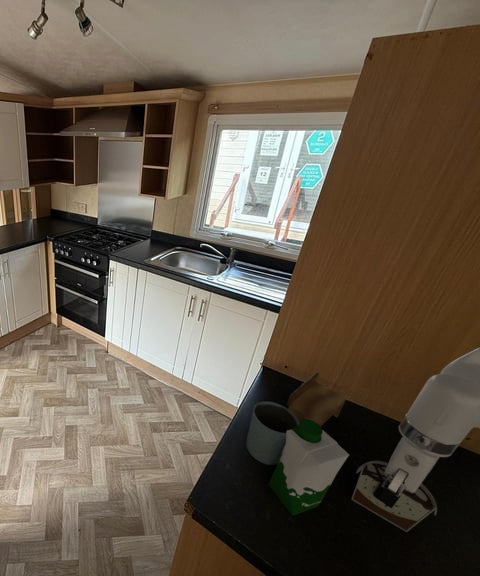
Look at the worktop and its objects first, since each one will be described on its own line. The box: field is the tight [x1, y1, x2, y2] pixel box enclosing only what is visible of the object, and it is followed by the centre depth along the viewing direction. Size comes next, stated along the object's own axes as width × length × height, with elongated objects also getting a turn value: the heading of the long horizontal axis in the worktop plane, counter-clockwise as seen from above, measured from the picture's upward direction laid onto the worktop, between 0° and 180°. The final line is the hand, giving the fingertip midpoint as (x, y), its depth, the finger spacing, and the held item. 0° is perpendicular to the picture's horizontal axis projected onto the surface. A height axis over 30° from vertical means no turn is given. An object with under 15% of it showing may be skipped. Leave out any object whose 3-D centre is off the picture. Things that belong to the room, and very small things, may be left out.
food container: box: [350, 460, 438, 533], centre depth 67 cm, size 12×6×10 cm, turn 47°
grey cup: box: [245, 401, 299, 466], centre depth 79 cm, size 10×10×12 cm
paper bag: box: [286, 372, 347, 428], centre depth 88 cm, size 9×16×10 cm, turn 125°
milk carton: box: [267, 419, 350, 517], centre depth 66 cm, size 9×9×20 cm
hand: (388, 490), depth 67 cm, fingers closed on food container, 6 cm apart
